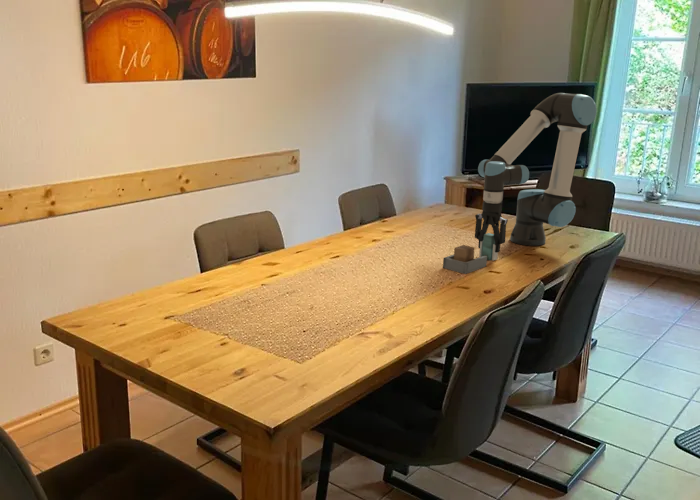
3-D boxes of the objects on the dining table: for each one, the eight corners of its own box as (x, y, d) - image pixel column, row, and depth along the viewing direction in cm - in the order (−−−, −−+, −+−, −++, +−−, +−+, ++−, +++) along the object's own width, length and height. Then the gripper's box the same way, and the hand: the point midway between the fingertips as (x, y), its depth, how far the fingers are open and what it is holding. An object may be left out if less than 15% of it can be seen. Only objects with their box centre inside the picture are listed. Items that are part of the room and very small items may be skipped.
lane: (463, 260, 274) (464, 250, 273) (486, 266, 267) (487, 256, 266) (442, 267, 264) (443, 257, 263) (465, 274, 257) (466, 263, 256)
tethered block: (485, 256, 280) (487, 232, 277) (495, 259, 277) (497, 235, 274) (453, 267, 264) (454, 242, 262) (464, 270, 261) (465, 245, 258)
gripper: (467, 199, 274) (463, 255, 280) (508, 206, 262) (503, 264, 268) (478, 196, 279) (474, 251, 286) (518, 203, 267) (513, 261, 274)
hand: (488, 257), depth 277 cm, fingers open, 5 cm apart
